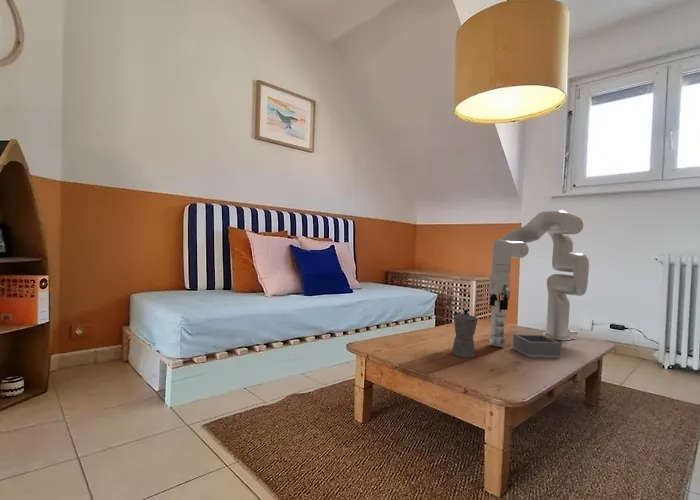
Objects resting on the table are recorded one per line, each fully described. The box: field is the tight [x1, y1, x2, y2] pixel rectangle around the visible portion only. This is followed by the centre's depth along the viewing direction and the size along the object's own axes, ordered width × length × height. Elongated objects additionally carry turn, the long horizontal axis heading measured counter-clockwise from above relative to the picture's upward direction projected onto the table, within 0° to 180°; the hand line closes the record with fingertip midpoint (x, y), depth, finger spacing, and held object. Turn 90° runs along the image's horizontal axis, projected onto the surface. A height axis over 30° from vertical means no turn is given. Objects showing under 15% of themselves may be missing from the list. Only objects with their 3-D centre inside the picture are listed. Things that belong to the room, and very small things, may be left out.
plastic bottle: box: [488, 299, 507, 348], centre depth 163 cm, size 6×7×20 cm
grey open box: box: [512, 333, 562, 359], centre depth 156 cm, size 13×12×6 cm
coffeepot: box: [451, 308, 478, 359], centre depth 150 cm, size 15×9×18 cm, turn 12°
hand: (498, 307), depth 163 cm, fingers open, 9 cm apart
